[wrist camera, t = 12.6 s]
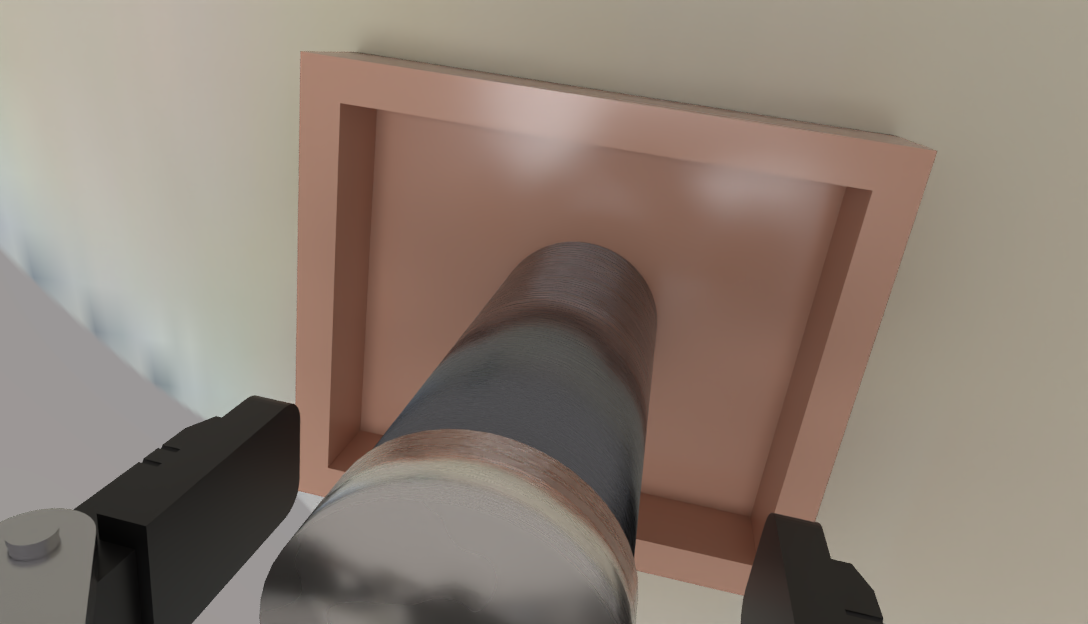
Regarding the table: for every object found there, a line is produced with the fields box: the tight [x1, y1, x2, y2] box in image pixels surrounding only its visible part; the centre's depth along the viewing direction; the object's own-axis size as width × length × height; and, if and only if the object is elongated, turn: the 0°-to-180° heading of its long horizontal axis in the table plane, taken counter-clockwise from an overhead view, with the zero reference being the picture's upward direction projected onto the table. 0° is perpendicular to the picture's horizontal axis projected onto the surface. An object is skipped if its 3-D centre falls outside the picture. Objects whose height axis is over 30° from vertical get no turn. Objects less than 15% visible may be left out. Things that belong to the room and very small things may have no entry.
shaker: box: [259, 242, 657, 624], centre depth 14 cm, size 5×5×12 cm
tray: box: [296, 51, 937, 596], centre depth 19 cm, size 14×12×3 cm
